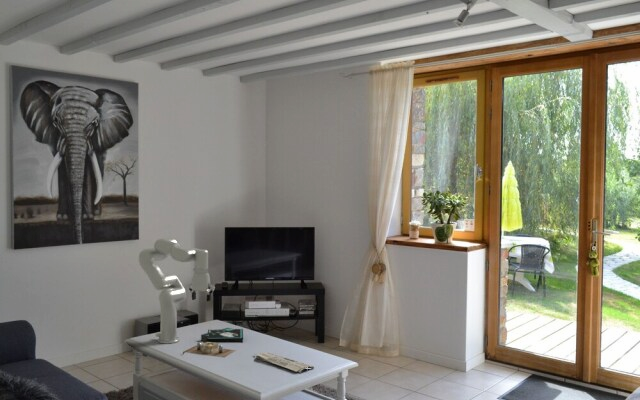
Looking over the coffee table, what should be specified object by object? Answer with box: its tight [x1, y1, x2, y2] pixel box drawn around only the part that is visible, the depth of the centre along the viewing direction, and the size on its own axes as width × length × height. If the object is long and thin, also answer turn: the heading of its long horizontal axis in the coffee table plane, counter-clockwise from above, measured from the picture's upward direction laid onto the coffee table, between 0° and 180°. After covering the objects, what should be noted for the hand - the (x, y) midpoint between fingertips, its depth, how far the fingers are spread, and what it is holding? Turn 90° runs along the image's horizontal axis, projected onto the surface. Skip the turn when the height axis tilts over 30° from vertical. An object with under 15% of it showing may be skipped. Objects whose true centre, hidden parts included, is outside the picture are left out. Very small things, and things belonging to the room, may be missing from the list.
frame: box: [201, 342, 219, 353], centre depth 328 cm, size 7×7×4 cm
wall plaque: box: [200, 327, 244, 344], centre depth 357 cm, size 30×4×30 cm
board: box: [182, 342, 237, 358], centre depth 328 cm, size 26×14×5 cm, turn 71°
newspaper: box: [255, 351, 315, 374], centre depth 312 cm, size 35×12×4 cm, turn 49°
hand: (201, 300), depth 337 cm, fingers open, 9 cm apart
